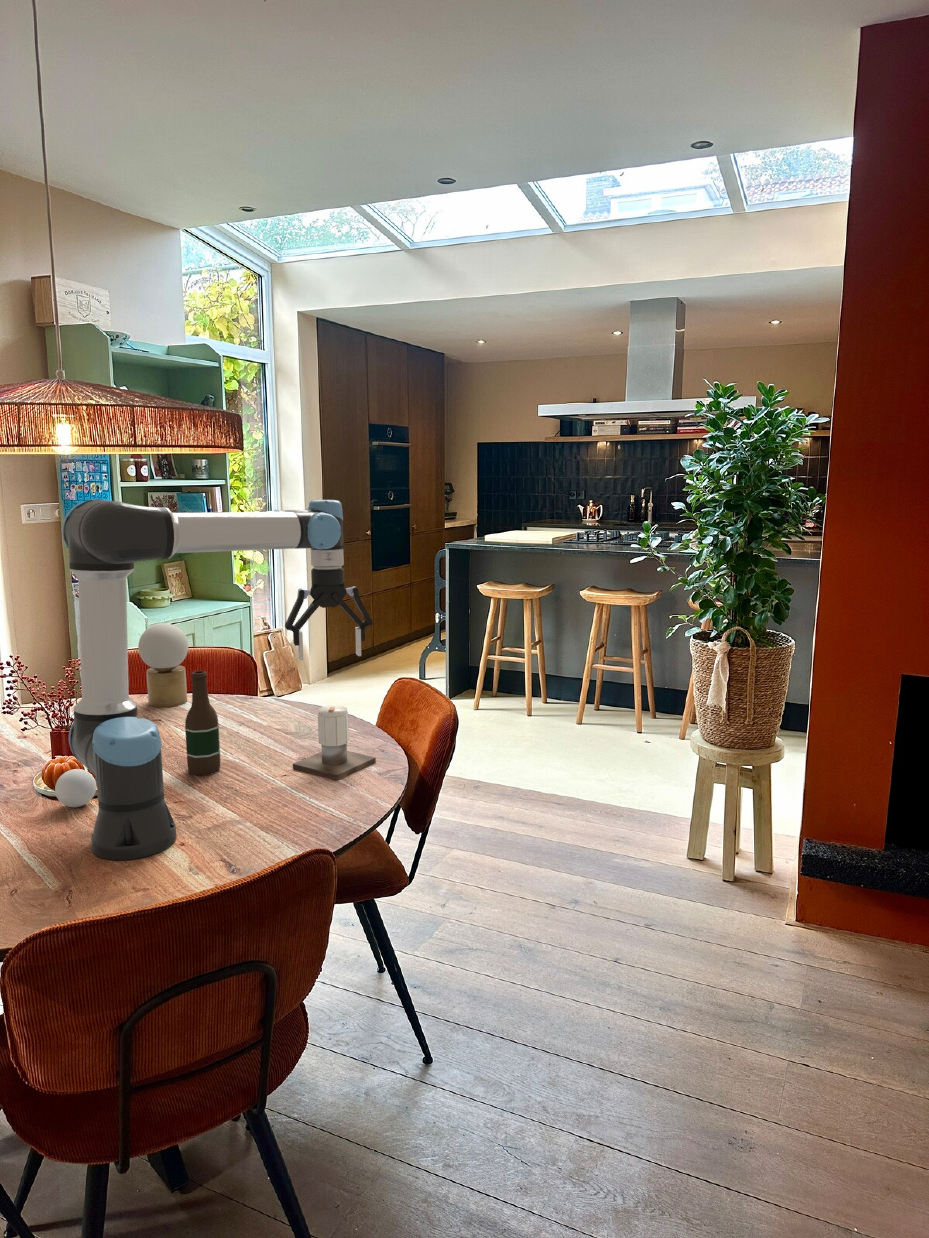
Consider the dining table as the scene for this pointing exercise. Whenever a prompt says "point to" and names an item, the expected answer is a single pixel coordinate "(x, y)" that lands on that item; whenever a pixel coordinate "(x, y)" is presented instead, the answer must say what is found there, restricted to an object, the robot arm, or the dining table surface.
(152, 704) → the lamp
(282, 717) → the dining table surface
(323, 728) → the canister
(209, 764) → the beer bottle
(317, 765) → the post block
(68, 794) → the ball
